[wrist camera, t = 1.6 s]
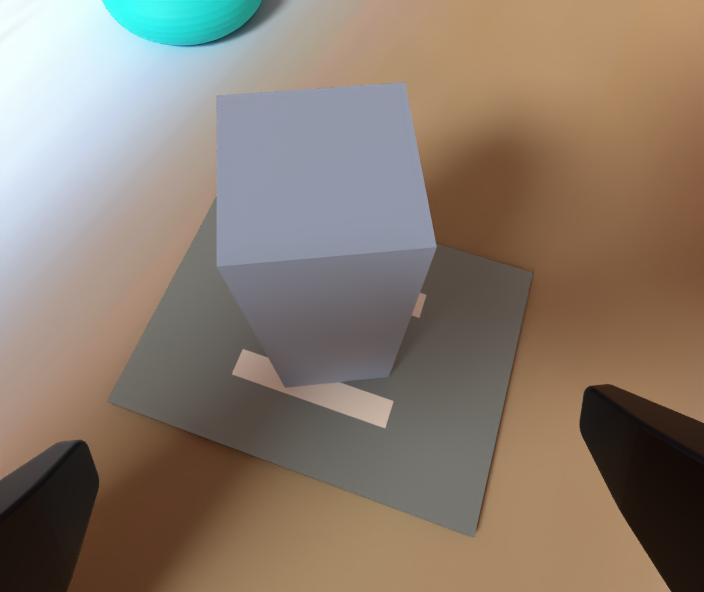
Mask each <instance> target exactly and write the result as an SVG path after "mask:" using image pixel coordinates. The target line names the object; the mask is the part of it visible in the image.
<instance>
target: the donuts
mask: <svg viewBox="0 0 704 592" xmlns="http://www.w3.org/2000/svg"><path fill="white" fill-rule="evenodd" d="M102 1H103V3H104V5H105V7H106V9H107V10H108V11H109V13H110V14H111V15H112V16H113V18H114V19H115V20H116V21H117V22H118V23H119V24H120V25H122V26H123V27H124V28H126V29H127V30H129V31H130V32H132V33H133V34H135V35H137V36H139V37H141V38H144V39H146V40H149V41H153V42H156V43H161V44H167V45H180V46H182V45H196V44H202V43H206V42H210V41H213V40H216V39H219V38H222V37H224V36H226V35H228V34H230V33H232V32H233V31H235V30H236V29H238V28H239V27H241V26H242V25H243V24H244V23H246V22H247V21H248V20H249V19H250V18H251V17H252V15H253V14H254V13H255V12H256V10H257V9H258V7H259V6H260V4H261V2H262V0H102Z"/></svg>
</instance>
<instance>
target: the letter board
mask: <svg viewBox="0 0 704 592" xmlns="http://www.w3.org/2000/svg"><path fill="white" fill-rule="evenodd" d="M436 246H437V248H436V251H435V253H434V256H433V259H432V262H431V264H430V267H429V270H428V272H427V275H426V278H425V280H424V283H423V286H422V289H421V291H420V294H419V297H418V299H417V302H416V305H415V307H414V310H413V313H412V316H411V318H410V321H409V324H408V326H407V329H406V332H405V334H404V337H403V340H402V343H401V345H400V348H399V351H398V353H397V356H396V359H395V361H394V364H393V367H392V370H391V372H390V375H389V377H386V378H376V379H367V380H357V381H347V382H337V383H327V384H317V385H308V386H298V387H288V388H285V387H284V385H283V383H282V381H281V380H280V378H279V376H278V374H277V373H276V371H275V369H274V367H273V365H272V364H271V362H270V360H269V358H268V357H267V355H266V353H265V351H264V350H263V348H262V346H261V344H260V342H259V341H258V339H257V337H256V335H255V334H254V332H253V330H252V328H251V327H250V325H249V323H248V321H247V320H246V318H245V316H244V314H243V312H242V311H241V309H240V307H239V305H238V304H237V302H236V300H235V298H234V297H233V295H232V293H231V291H230V289H229V288H228V286H227V284H226V282H225V281H224V279H223V277H222V275H221V274H220V272H219V270H218V268H217V196H216V198H215V200H214V202H213V204H212V206H211V208H210V210H209V211H208V213H207V215H206V217H205V219H204V221H203V223H202V225H201V226H200V228H199V230H198V232H197V234H196V236H195V238H194V240H193V241H192V243H191V245H190V247H189V249H188V251H187V253H186V254H185V256H184V258H183V260H182V262H181V264H180V266H179V268H178V269H177V271H176V273H175V275H174V277H173V279H172V281H171V283H170V284H169V286H168V288H167V290H166V292H165V294H164V296H163V298H162V299H161V301H160V303H159V305H158V307H157V309H156V311H155V313H154V314H153V316H152V318H151V320H150V322H149V324H148V326H147V328H146V329H145V331H144V333H143V335H142V337H141V339H140V341H139V343H138V344H137V346H136V348H135V350H134V352H133V354H132V356H131V358H130V359H129V361H128V363H127V365H126V367H125V369H124V371H123V373H122V374H121V376H120V378H119V380H118V382H117V384H116V386H115V388H114V389H113V391H112V393H111V395H110V397H109V399H108V401H107V402H110V403H112V404H115V405H118V406H120V407H123V408H126V409H129V410H131V411H134V412H137V413H139V414H142V415H145V416H147V417H150V418H153V419H155V420H158V421H161V422H164V423H166V424H169V425H172V426H174V427H177V428H180V429H182V430H185V431H188V432H190V433H193V434H196V435H199V436H201V437H204V438H207V439H209V440H212V441H215V442H217V443H220V444H223V445H225V446H228V447H231V448H234V449H236V450H239V451H242V452H244V453H247V454H250V455H252V456H255V457H258V458H260V459H263V460H266V461H269V462H271V463H274V464H277V465H279V466H282V467H285V468H287V469H290V470H293V471H295V472H298V473H301V474H304V475H306V476H309V477H312V478H314V479H317V480H320V481H322V482H325V483H328V484H331V485H333V486H336V487H339V488H341V489H344V490H347V491H349V492H352V493H355V494H357V495H360V496H363V497H366V498H368V499H371V500H374V501H376V502H379V503H382V504H384V505H387V506H390V507H392V508H395V509H398V510H401V511H403V512H406V513H409V514H411V515H414V516H417V517H419V518H422V519H425V520H427V521H430V522H433V523H436V524H438V525H441V526H444V527H446V528H449V529H452V530H454V531H457V532H460V533H462V534H465V535H468V536H471V537H473V538H474V536H475V532H476V527H477V523H478V518H479V514H480V509H481V505H482V500H483V496H484V491H485V487H486V482H487V478H488V473H489V469H490V464H491V460H492V455H493V451H494V446H495V442H496V437H497V433H498V428H499V424H500V419H501V415H502V410H503V406H504V401H505V397H506V392H507V388H508V383H509V379H510V374H511V370H512V365H513V361H514V356H515V352H516V347H517V343H518V338H519V334H520V329H521V325H522V320H523V316H524V311H525V307H526V302H527V298H528V293H529V289H530V284H531V280H532V275H533V272H530V271H526V270H523V269H520V268H516V267H513V266H510V265H507V264H503V263H500V262H497V261H493V260H490V259H487V258H483V257H480V256H477V255H474V254H470V253H467V252H464V251H460V250H457V249H454V248H451V247H447V246H444V245H441V244H437V243H436Z"/></svg>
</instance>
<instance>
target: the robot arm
mask: <svg viewBox="0 0 704 592" xmlns="http://www.w3.org/2000/svg"><path fill="white" fill-rule="evenodd" d="M580 431H581V434H582V437H583V439H584V441H585V443H586V445H587V447H588V449H589V451H590V453H591V455H592V457H593V459H594V461H595V463H596V465H597V467H598V469H599V471H600V473H601V475H602V477H603V479H604V481H605V483H606V485H607V487H608V489H609V491H610V493H611V495H612V497H613V499H614V500H615V502H616V504H617V506H618V508H619V510H620V511H621V513H622V515H623V516H624V518H625V520H626V521H627V523H628V525H629V526H630V528H631V529H632V531H633V532H634V534H635V536H636V537H637V539H638V540H639V542H640V543H641V545H642V547H643V548H644V550H645V551H646V553H647V554H648V556H649V558H650V559H651V561H652V562H653V564H654V565H655V567H656V569H657V570H658V572H659V573H660V575H661V576H662V578H663V580H664V581H665V583H666V584H667V586H668V587H669V589H670V591H671V592H704V423H702V422H700V421H697V420H695V419H693V418H690V417H688V416H685V415H683V414H681V413H678V412H676V411H673V410H671V409H669V408H666V407H664V406H661V405H659V404H657V403H654V402H652V401H649V400H647V399H645V398H642V397H640V396H637V395H635V394H633V393H630V392H628V391H625V390H623V389H620V388H618V387H616V386H613V385H610V384H604V385H594V386H589V387H587V388H586V389H585V391H584V395H583V402H582V409H581V416H580ZM98 488H99V477H98V473H97V470H96V467H95V464H94V461H93V459H92V456H91V453H90V450H89V447H88V445H87V444H86V442H85V441H82V440H72V441H63V442H58V443H56V444H54V445H53V446H51V447H50V448H48V449H47V450H45V451H44V452H42V453H41V454H39V455H38V456H36V457H35V458H33V459H32V460H30V461H29V462H27V463H26V464H24V465H22V466H21V467H19V468H18V469H16V470H15V471H13V472H12V473H10V474H9V475H7V476H6V477H4V478H3V479H1V480H0V592H67V590H68V587H69V585H70V582H71V579H72V577H73V574H74V571H75V567H76V564H77V561H78V558H79V554H80V551H81V547H82V544H83V541H84V537H85V534H86V530H87V527H88V523H89V520H90V516H91V513H92V509H93V506H94V503H95V499H96V496H97V492H98Z"/></svg>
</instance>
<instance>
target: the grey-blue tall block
mask: <svg viewBox="0 0 704 592" xmlns="http://www.w3.org/2000/svg"><path fill="white" fill-rule="evenodd" d="M436 248H437V246H436V241H435V235H434V230H433V225H432V220H431V215H430V209H429V204H428V199H427V194H426V189H425V184H424V178H423V173H422V168H421V163H420V158H419V152H418V147H417V142H416V137H415V132H414V126H413V121H412V116H411V111H410V106H409V101H408V95H407V90H406V85H405V82H402V83H388V84H374V85H360V86H346V87H331V88H317V89H303V90H289V91H274V92H260V93H246V94H232V95H218V96H217V268H218V270H219V272H220V274H221V275H222V277H223V279H224V281H225V282H226V284H227V286H228V288H229V289H230V291H231V293H232V295H233V297H234V298H235V300H236V302H237V304H238V305H239V307H240V309H241V311H242V312H243V314H244V316H245V318H246V320H247V321H248V323H249V325H250V327H251V328H252V330H253V332H254V334H255V335H256V337H257V339H258V341H259V342H260V344H261V346H262V348H263V350H264V351H265V353H266V355H267V357H268V358H269V360H270V362H271V364H272V365H273V367H274V369H275V371H276V373H277V374H278V376H279V378H280V380H281V381H282V383H283V385H284V387H285V388H288V387H298V386H308V385H317V384H327V383H337V382H347V381H357V380H367V379H376V378H386V377H389V375H390V372H391V370H392V367H393V364H394V361H395V359H396V356H397V353H398V351H399V348H400V345H401V343H402V340H403V337H404V334H405V332H406V329H407V326H408V324H409V321H410V318H411V316H412V313H413V310H414V307H415V305H416V302H417V299H418V297H419V294H420V291H421V289H422V286H423V283H424V280H425V278H426V275H427V272H428V270H429V267H430V264H431V262H432V259H433V256H434V253H435V251H436Z"/></svg>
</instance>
